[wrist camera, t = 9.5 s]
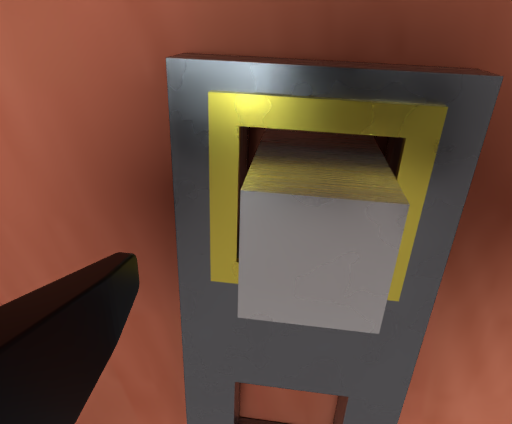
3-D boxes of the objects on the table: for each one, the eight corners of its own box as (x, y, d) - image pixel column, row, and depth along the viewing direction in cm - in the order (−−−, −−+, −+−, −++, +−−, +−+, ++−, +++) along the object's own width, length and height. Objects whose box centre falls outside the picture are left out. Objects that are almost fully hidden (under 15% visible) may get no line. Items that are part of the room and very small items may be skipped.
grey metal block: (260, 221, 17) (237, 317, 11) (265, 128, 15) (240, 190, 10) (356, 230, 16) (378, 333, 11) (372, 136, 14) (409, 204, 9)
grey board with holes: (198, 432, 23) (187, 472, 21) (184, 52, 14) (162, 58, 12) (369, 457, 22) (376, 501, 20) (477, 68, 13) (508, 77, 11)
